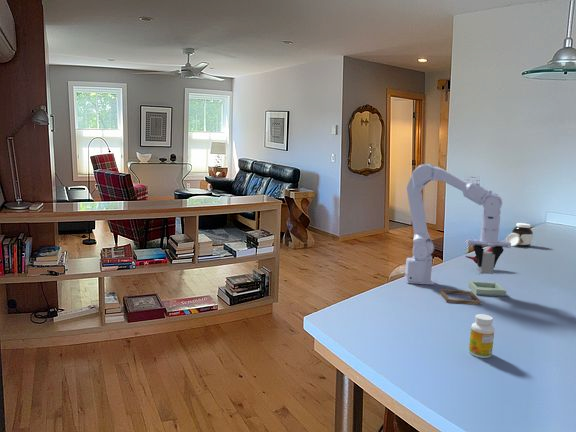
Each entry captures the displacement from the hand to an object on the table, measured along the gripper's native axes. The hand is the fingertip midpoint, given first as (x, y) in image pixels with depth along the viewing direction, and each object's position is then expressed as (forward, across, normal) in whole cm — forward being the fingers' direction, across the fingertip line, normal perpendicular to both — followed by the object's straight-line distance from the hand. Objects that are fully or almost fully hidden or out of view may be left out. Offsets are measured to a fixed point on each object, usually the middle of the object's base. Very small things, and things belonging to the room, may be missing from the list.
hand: (485, 266), depth 168 cm
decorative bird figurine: (+10, +8, +33) cm, 35 cm away
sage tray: (+9, +2, +1) cm, 10 cm away
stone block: (+2, 0, 0) cm, 2 cm away
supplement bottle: (+10, -16, -53) cm, 56 cm away
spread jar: (+10, +44, +89) cm, 100 cm away
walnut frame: (+9, -10, -9) cm, 16 cm away
